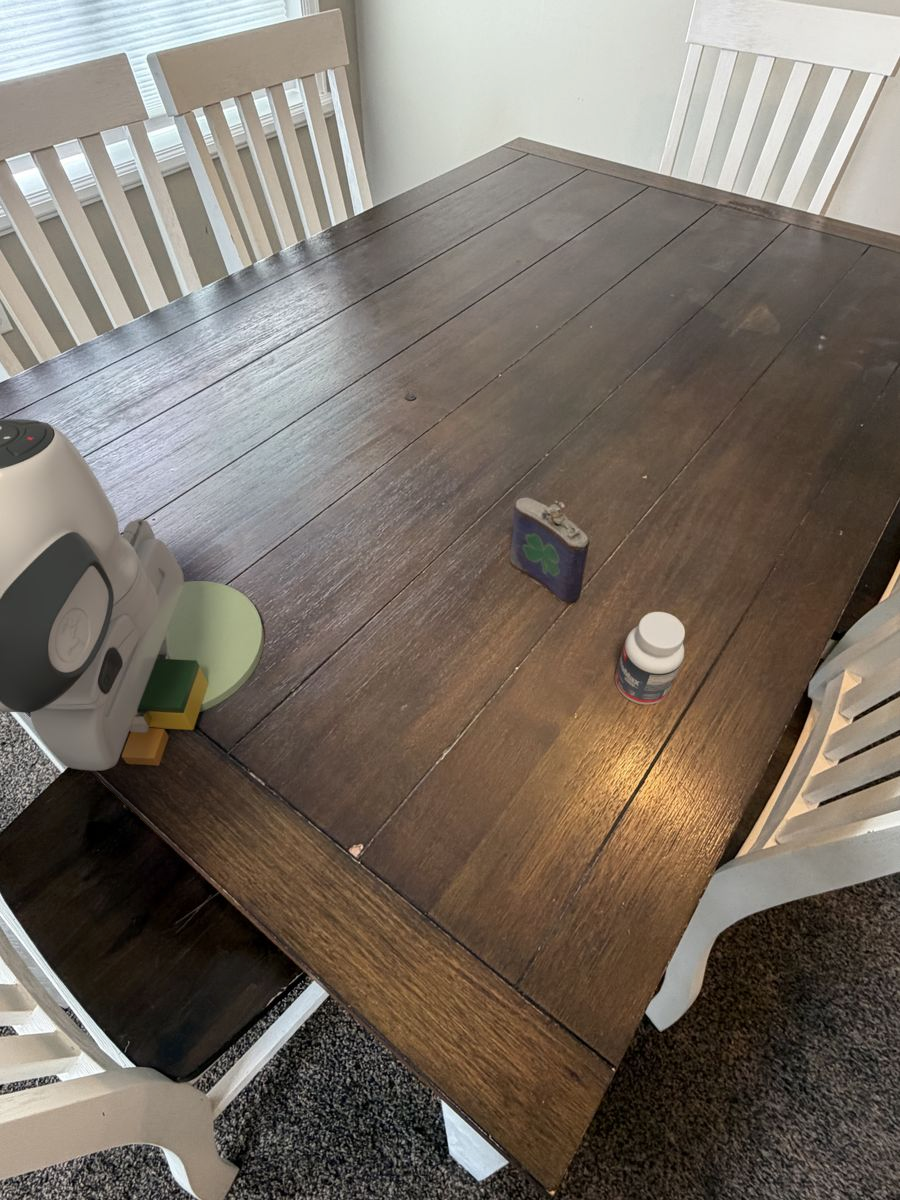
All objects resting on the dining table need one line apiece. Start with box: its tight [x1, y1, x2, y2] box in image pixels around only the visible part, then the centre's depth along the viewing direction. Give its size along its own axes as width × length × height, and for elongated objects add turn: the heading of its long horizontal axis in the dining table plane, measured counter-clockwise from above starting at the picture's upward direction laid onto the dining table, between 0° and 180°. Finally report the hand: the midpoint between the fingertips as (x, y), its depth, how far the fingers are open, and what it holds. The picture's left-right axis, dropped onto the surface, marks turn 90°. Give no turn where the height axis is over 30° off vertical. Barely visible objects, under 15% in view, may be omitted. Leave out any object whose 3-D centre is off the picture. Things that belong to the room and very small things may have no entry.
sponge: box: [137, 658, 208, 731], centre depth 67 cm, size 8×5×4 cm, turn 86°
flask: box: [509, 496, 590, 606], centre depth 75 cm, size 9×3×11 cm, turn 44°
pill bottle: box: [614, 611, 686, 706], centre depth 67 cm, size 5×5×9 cm
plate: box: [168, 580, 265, 713], centre depth 73 cm, size 16×16×1 cm
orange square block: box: [121, 728, 170, 766], centre depth 66 cm, size 3×3×2 cm
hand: (152, 695), depth 67 cm, fingers closed on sponge, 5 cm apart
